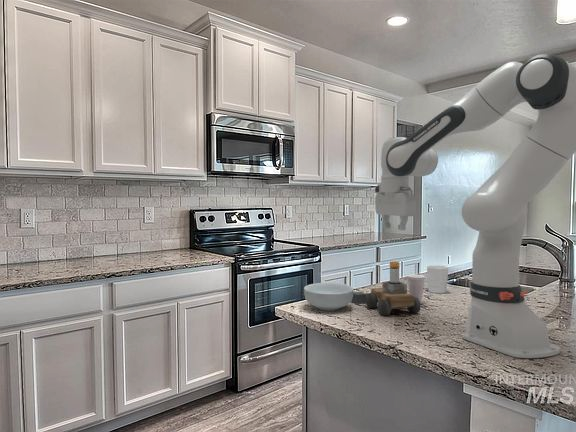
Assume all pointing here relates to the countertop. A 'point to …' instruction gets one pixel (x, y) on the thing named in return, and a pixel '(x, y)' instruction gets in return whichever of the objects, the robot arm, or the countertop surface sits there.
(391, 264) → the grey and orange cylinder
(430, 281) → the white cup
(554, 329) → the countertop surface
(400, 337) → the countertop surface
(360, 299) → the dark grey cube
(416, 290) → the smoothie
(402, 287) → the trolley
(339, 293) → the cereal bowl
